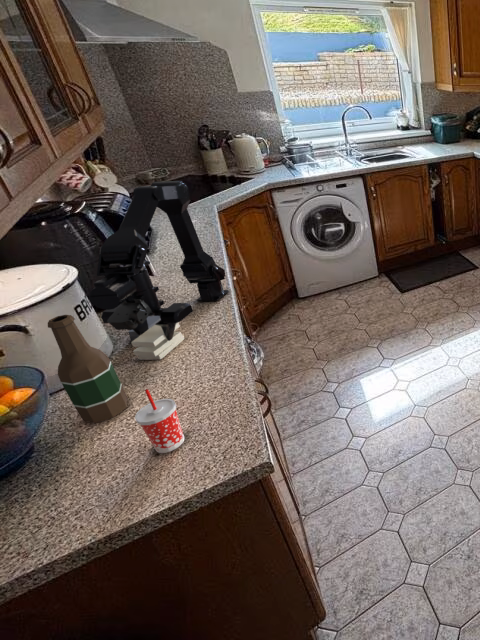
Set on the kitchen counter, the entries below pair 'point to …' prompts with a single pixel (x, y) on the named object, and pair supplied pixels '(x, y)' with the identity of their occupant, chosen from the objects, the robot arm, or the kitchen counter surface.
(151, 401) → the beverage cup
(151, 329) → the white book
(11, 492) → the kitchen counter surface
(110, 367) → the beer bottle
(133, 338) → the dark grey rectangular block
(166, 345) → the cream flat block
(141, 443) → the kitchen counter surface
